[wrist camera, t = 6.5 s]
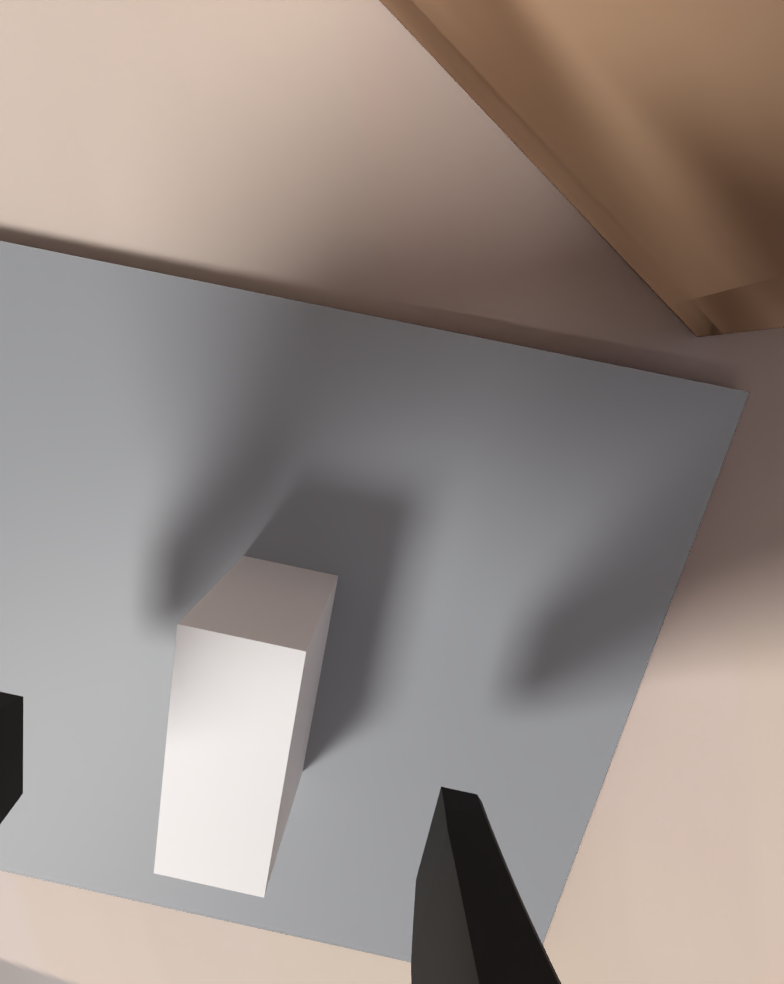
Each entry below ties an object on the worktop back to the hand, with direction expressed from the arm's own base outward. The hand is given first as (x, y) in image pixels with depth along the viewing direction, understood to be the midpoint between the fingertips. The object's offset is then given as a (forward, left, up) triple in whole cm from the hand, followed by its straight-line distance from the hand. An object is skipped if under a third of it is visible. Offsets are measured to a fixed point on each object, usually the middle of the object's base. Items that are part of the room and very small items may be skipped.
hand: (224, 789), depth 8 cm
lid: (0, 0, -4) cm, 4 cm away
